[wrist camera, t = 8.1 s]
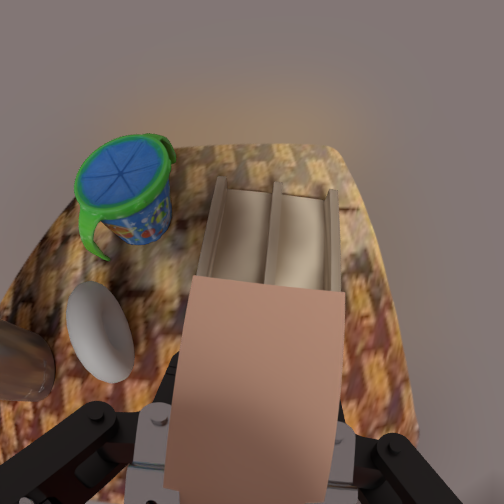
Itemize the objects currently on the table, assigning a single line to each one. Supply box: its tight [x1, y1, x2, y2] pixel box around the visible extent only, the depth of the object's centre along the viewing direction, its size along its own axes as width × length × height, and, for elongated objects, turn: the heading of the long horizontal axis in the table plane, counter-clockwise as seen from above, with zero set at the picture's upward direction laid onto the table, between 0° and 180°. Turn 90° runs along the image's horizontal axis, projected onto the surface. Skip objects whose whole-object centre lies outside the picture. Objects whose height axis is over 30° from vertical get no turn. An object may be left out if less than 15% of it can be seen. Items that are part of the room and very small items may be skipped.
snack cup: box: [74, 133, 176, 261], centre depth 30 cm, size 16×10×10 cm
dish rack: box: [196, 176, 341, 292], centre depth 31 cm, size 14×16×4 cm
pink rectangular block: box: [163, 275, 345, 504], centre depth 9 cm, size 4×7×10 cm, turn 173°
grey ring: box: [66, 281, 135, 383], centre depth 24 cm, size 10×4×10 cm, turn 21°
